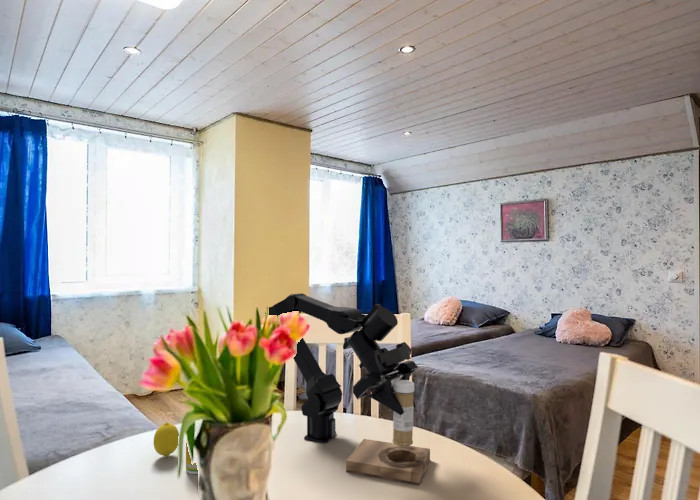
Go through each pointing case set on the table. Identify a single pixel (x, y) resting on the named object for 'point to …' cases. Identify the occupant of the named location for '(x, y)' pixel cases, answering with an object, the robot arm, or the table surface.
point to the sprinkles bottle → (404, 421)
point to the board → (389, 461)
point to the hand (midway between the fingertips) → (408, 411)
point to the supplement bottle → (189, 467)
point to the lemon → (166, 439)
